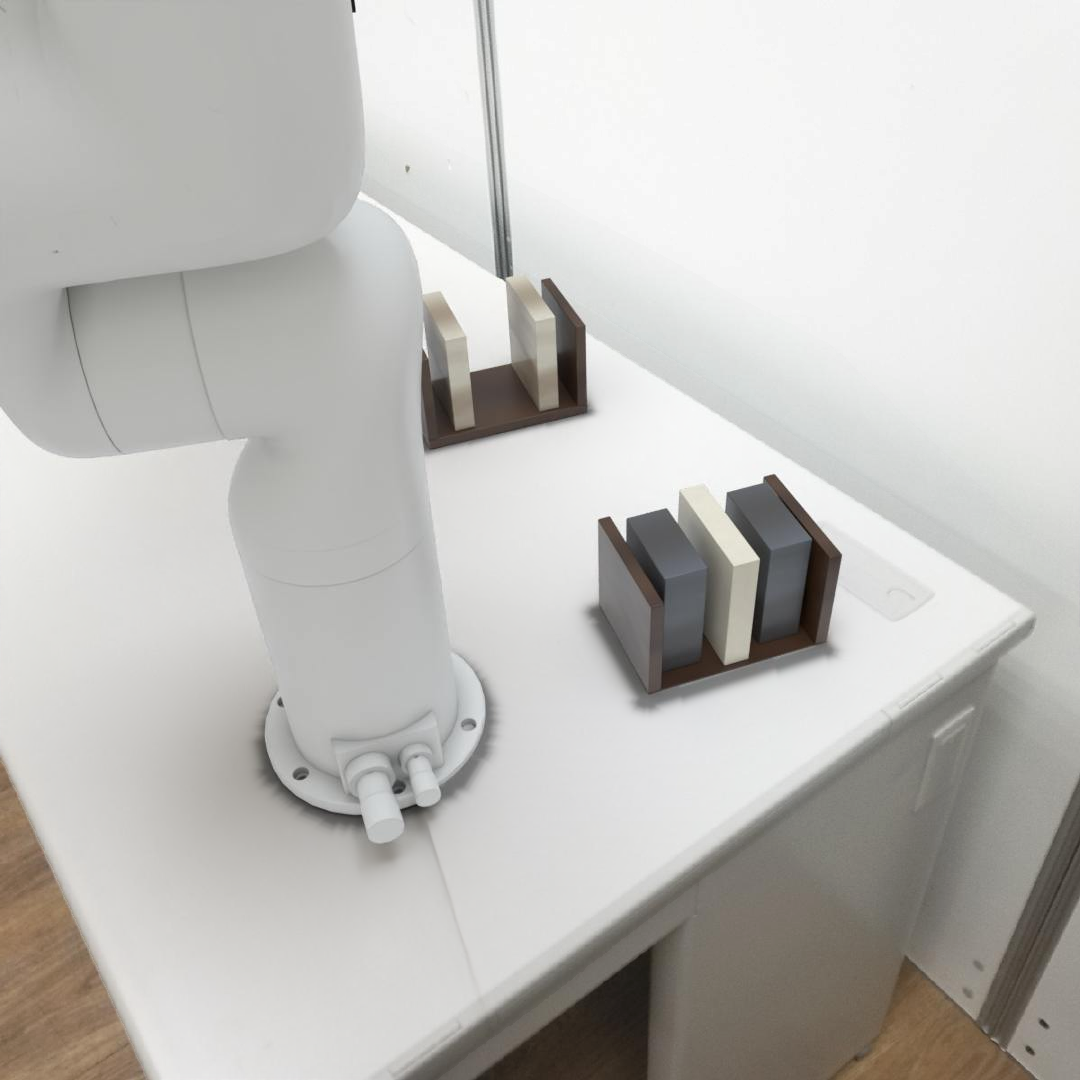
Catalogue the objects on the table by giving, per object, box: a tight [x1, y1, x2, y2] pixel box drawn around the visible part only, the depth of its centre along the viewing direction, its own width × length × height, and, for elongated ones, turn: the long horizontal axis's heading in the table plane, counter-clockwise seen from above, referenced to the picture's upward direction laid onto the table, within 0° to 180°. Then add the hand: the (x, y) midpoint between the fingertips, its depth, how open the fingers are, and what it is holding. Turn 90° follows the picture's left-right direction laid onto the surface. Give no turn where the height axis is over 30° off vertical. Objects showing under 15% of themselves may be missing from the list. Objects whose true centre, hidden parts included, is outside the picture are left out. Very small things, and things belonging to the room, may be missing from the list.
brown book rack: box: [421, 273, 588, 450], centre depth 86 cm, size 8×13×9 cm, turn 109°
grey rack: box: [597, 473, 843, 695], centre depth 66 cm, size 8×12×8 cm
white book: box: [677, 483, 760, 666], centre depth 66 cm, size 7×2×8 cm, turn 19°
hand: (267, 34), depth 72 cm, fingers open, 9 cm apart
